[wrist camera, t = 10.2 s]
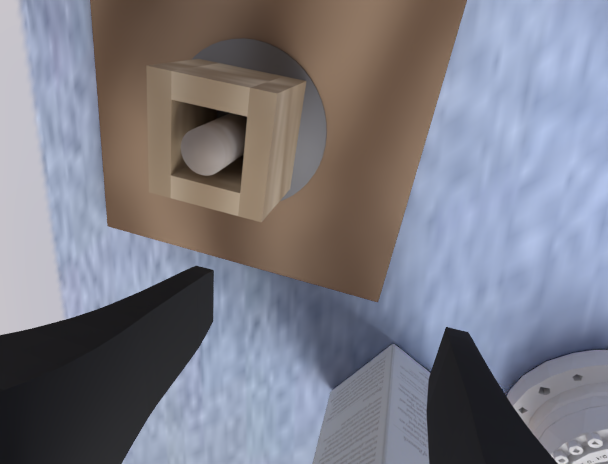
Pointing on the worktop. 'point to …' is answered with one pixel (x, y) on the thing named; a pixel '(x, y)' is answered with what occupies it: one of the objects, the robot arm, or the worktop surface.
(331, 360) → the worktop surface
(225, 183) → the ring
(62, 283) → the worktop surface
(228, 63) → the post board
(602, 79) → the worktop surface
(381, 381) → the skincare box
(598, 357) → the mechanical component
